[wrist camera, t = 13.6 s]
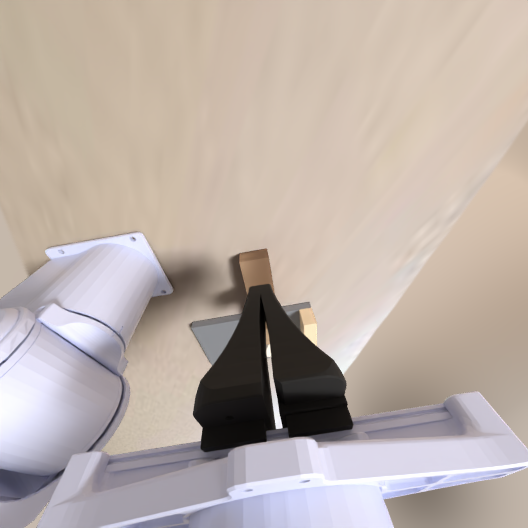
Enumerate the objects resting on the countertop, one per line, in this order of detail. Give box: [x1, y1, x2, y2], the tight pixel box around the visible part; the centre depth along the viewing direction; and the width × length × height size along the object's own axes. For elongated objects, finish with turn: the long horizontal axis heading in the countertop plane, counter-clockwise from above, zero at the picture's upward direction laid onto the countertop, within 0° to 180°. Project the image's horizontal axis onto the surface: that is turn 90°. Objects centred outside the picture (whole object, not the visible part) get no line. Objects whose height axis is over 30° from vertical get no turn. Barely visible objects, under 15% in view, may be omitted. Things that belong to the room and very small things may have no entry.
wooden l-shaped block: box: [239, 249, 275, 345], centre depth 22 cm, size 3×10×8 cm, turn 8°
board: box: [191, 302, 317, 366], centre depth 30 cm, size 16×10×4 cm, turn 98°
